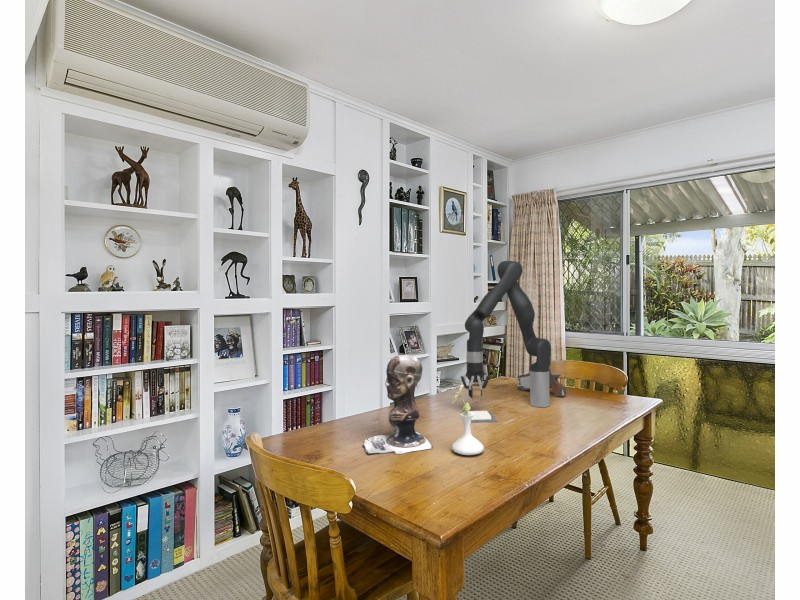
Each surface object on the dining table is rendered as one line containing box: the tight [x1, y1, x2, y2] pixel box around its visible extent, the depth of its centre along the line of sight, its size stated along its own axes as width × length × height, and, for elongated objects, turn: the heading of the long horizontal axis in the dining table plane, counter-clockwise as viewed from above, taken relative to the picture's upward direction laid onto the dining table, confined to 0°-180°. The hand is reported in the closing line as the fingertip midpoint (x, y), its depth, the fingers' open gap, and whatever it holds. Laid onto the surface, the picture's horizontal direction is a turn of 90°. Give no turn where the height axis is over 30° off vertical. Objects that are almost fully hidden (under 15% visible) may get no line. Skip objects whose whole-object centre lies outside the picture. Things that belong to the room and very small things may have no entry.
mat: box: [471, 411, 498, 424], centre depth 203 cm, size 14×14×1 cm
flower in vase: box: [451, 383, 485, 456], centre depth 160 cm, size 13×11×25 cm
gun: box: [516, 368, 568, 398], centre depth 247 cm, size 5×27×15 cm, turn 39°
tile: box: [467, 410, 491, 421], centre depth 201 cm, size 2×9×9 cm
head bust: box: [362, 354, 434, 456], centre depth 171 cm, size 22×25×35 cm
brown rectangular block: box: [471, 382, 482, 402], centre depth 210 cm, size 10×4×6 cm, turn 0°
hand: (475, 397), depth 210 cm, fingers closed on brown rectangular block, 3 cm apart
